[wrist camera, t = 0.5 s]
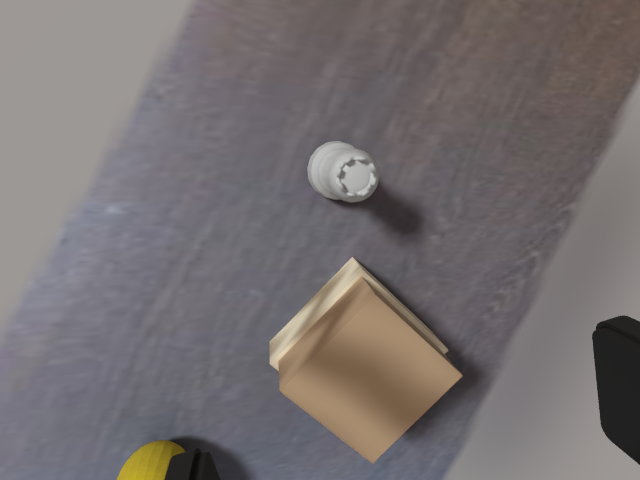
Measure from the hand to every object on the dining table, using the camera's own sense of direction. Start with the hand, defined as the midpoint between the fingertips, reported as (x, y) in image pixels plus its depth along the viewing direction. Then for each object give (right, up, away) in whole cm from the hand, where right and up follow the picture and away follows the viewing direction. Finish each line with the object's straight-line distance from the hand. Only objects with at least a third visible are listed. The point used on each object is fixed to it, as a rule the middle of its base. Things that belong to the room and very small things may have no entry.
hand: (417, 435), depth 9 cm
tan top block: (+1, -4, +22) cm, 23 cm away
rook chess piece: (-1, +10, +23) cm, 25 cm away
